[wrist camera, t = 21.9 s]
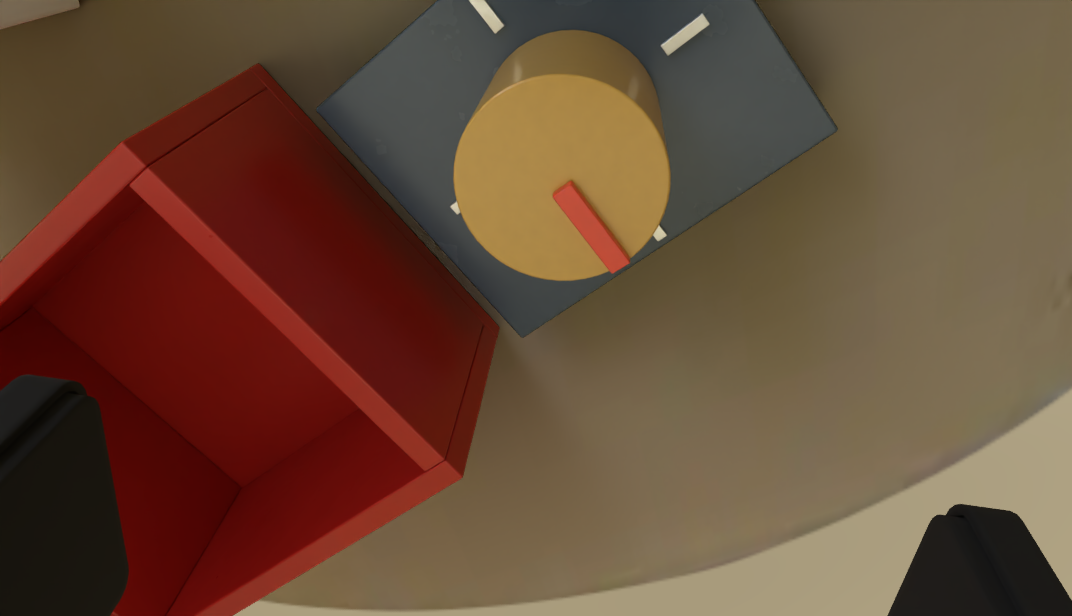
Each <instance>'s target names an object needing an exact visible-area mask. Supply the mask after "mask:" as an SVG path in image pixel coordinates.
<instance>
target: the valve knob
mask: <svg viewBox="0 0 1072 616" xmlns="http://www.w3.org/2000/svg"><path fill="white" fill-rule="evenodd" d="M453 182H454V191H455V196H456V200H457V204H458V207H459V210H460V212H461V215H462V217H463V219H464V221H465V223H466V225H467V227H468V228H469V230H470V232H471V233H472V234H473V236H474V237H475V238H476V240H477V241H478V242H479V243H480V244H481V245H482V246H483V247H484V248H485V250H486V251H488V252H489V253H490V254H491V255H492V256H494V257H495V258H496V259H497V260H499V261H500V262H502V263H503V264H505V265H507V266H508V267H510V268H512V269H514V270H516V271H518V272H521V273H524V274H526V275H529V276H532V277H537V278H541V279H546V280H556V281H573V280H580V279H586V278H590V277H594V276H598V275H601V274H603V273H606V272H608V271H610V272H611V273H612V274H613V273H615V272H616V271H618V270H620V269H621V268H623V267H624V266H626V265H628V264H629V263H630V258H632V257H633V256H634V255H635V254H636V253H638V252H639V251H640V250H641V249H642V248H643V247H644V246H645V244H646V243H647V242H648V241H649V240H650V238H651V237H652V236H653V234H654V233H655V231H656V229H657V228H658V226H659V224H660V222H661V220H662V218H663V216H664V213H665V210H666V207H667V203H668V199H669V193H670V184H671V172H670V164H669V157H668V151H667V146H666V140H665V134H664V129H663V123H662V118H661V112H660V107H659V101H658V97H657V93H656V90H655V87H654V85H653V82H652V80H651V78H650V76H649V74H648V73H647V71H646V69H645V68H644V66H643V65H642V64H641V63H640V61H639V60H638V59H637V58H636V57H635V56H634V55H633V54H632V53H631V52H630V51H629V50H627V49H626V48H625V47H623V46H622V45H621V44H619V43H617V42H616V41H614V40H612V39H610V38H608V37H605V36H603V35H600V34H597V33H593V32H588V31H581V30H561V31H556V32H550V33H547V34H544V35H541V36H538V37H536V38H534V39H532V40H530V41H528V42H526V43H525V44H523V45H522V46H520V47H519V48H517V49H516V50H515V51H514V52H513V53H512V54H511V55H509V56H508V58H507V59H506V60H505V61H504V62H503V63H502V65H501V66H500V68H499V69H498V71H497V72H496V74H495V75H494V77H493V79H492V81H491V83H490V84H489V86H488V88H487V90H486V92H485V93H484V95H483V97H482V99H481V101H480V102H479V104H478V106H477V108H476V110H475V111H474V113H473V115H472V117H471V119H470V120H469V122H468V124H467V126H466V128H465V130H464V132H463V134H462V136H461V138H460V141H459V144H458V147H457V151H456V155H455V161H454V171H453Z"/></svg>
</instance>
